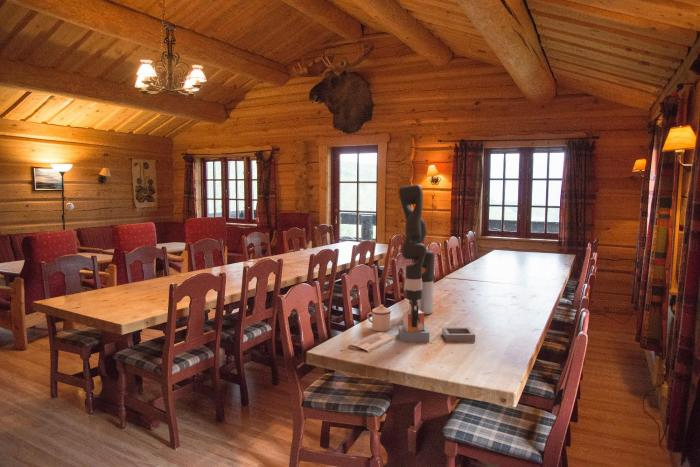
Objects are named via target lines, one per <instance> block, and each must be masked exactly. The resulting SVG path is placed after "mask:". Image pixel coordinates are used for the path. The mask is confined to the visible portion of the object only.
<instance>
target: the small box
mask: <svg viewBox="0 0 700 467" xmlns="http://www.w3.org/2000/svg"><path fill="white" fill-rule="evenodd" d="M402 314H403V315H402V317H403V319H402V320H403V324H402V326H403V331H404V332H424V325H425V314H424V313H423V312H422V311H420V310H418V319H417V327H412V314H411V313H410V311H409V310H407V311H406V310H404V311H403V313H402ZM414 316H416V314H414Z"/></svg>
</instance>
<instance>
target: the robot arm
mask: <svg viewBox="0 0 700 467" xmlns="http://www.w3.org/2000/svg"><path fill="white" fill-rule="evenodd" d="M398 189H399V190H398V195H399V197H398V198H399V201H400V204H401V208H402V211H403V212H402V213H403V214H404V219H405V220H404V221H405V225H404V226H405V228H404V229H405V231H404V232H405V238H404V242H403V244H402V247H401V256H402V258H404V259H405V260H412V263H410V264H407V265H406V266H405V282H404V288H405V289H404V295H405V296H404V298H405V299H406V300H408V311H410V313H411V314H412V327H417V319H418V310H420V311H422V312H423V313H424V315H429V314H433V313H434V279H435V278H434V274H435V253H434V251H433V250H427V248H426V246H425V244H424V243H423V242H424V240H425V238H426V236H427V227H426V222H425V220H424V219H423V218H422V214H423V205H424V192H423V188H422V185H421V184H410V185H404V186H401V187H400V188H398ZM412 205H413V206H414V208H412V207H411V206H412ZM423 269H426V270H425V271H424V272H423ZM414 314H416V316H414Z"/></svg>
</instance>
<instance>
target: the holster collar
mask: <svg viewBox="0 0 700 467" xmlns="http://www.w3.org/2000/svg"><path fill="white" fill-rule="evenodd" d="M441 334H442V336H443V338H444V340H445V342H476V334H475V332H474V331H473V330H472V329H471V327H470V326H465V327H463V326H462V327H458V326H457V327H454V326H453V327H452V326H451V327H447V326H446V327H442V328H441Z"/></svg>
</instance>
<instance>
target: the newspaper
mask: <svg viewBox="0 0 700 467" xmlns="http://www.w3.org/2000/svg"><path fill="white" fill-rule="evenodd" d="M394 339H395V340H396V339H397V337H396V336H394V335H391V334H388V333H385V332H383V331H376V332H372V333H370V334H369V335H367V336H365V337H362V338H360V339H359V340H357V341H355V342H353V343H351V344H349V345H348V348H351V349H354V350H359V349H363V350H364V351H367V352H368V353H370V352H372V351H374V350H377V349H379V348H381V347H383V346H385V345H387V344H389V343H391V342H392V340H393V341H394Z"/></svg>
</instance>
